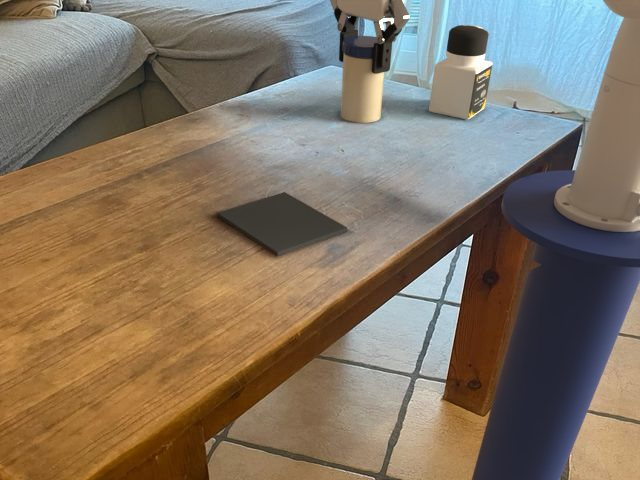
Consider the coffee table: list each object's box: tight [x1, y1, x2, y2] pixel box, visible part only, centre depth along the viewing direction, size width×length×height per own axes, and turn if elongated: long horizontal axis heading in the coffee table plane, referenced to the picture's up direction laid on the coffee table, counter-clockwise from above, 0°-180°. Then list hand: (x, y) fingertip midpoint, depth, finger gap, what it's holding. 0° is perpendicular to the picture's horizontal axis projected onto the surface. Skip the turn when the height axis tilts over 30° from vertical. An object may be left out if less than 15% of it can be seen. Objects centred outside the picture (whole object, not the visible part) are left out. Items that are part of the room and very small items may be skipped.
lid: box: [342, 35, 378, 58], centre depth 99 cm, size 7×7×1 cm
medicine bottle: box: [428, 24, 493, 121], centre depth 105 cm, size 7×7×12 cm
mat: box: [216, 191, 348, 257], centre depth 77 cm, size 12×10×1 cm
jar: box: [340, 53, 385, 124], centre depth 102 cm, size 6×6×10 cm
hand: (363, 65), depth 101 cm, fingers closed on lid, 6 cm apart
